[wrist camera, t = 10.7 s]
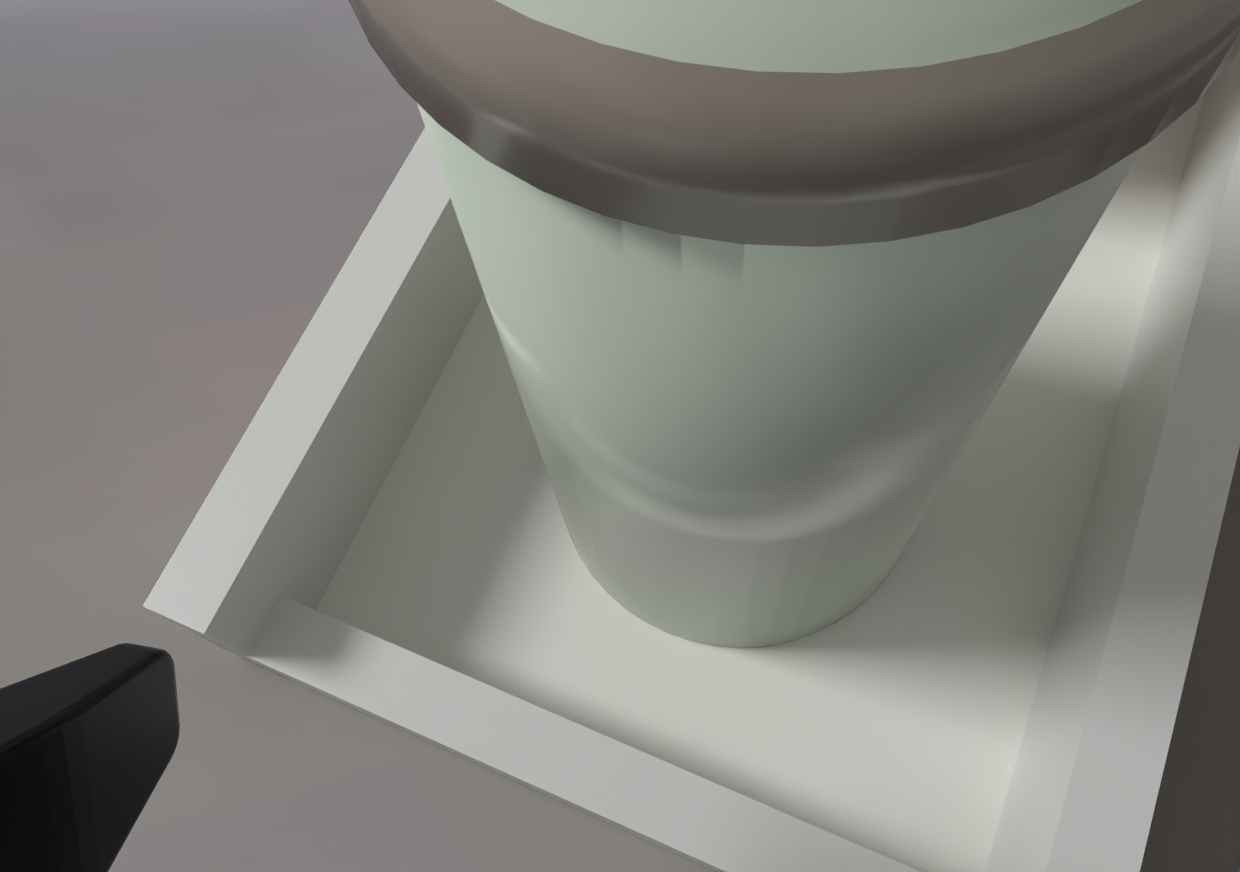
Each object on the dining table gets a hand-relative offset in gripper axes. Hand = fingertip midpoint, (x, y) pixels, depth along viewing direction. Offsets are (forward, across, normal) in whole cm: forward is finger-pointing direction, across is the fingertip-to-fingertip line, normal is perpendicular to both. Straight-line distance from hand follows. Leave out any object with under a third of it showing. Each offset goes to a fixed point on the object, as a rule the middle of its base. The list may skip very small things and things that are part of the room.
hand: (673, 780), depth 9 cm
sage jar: (+10, 0, +1) cm, 10 cm away
